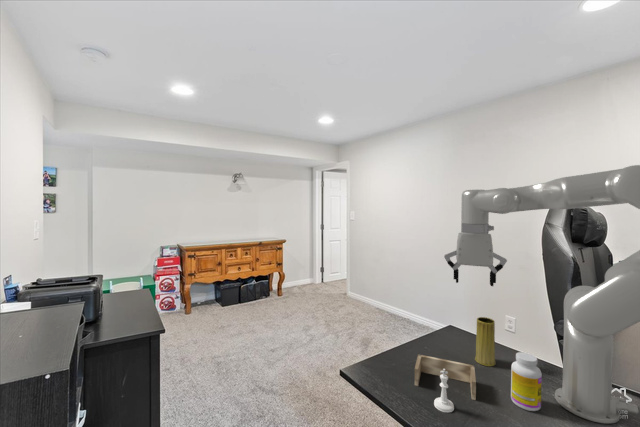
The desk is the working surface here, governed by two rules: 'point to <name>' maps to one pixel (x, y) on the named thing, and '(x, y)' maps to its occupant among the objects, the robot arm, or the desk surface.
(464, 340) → the desk surface
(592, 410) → the robot arm
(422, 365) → the open-side wooden frame
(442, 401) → the chess piece
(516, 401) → the supplement bottle
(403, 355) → the desk surface
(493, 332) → the vase
